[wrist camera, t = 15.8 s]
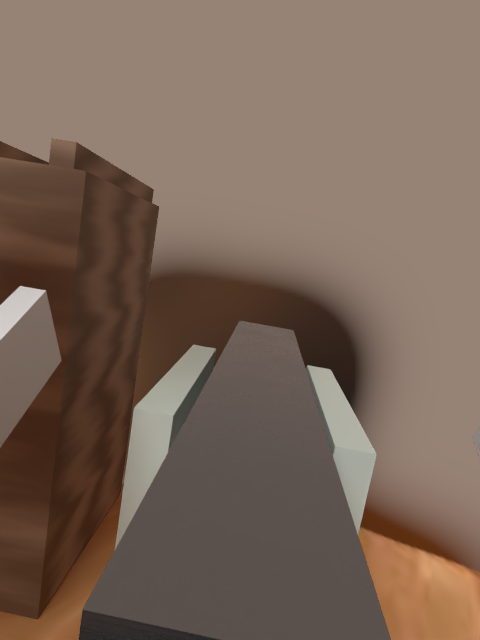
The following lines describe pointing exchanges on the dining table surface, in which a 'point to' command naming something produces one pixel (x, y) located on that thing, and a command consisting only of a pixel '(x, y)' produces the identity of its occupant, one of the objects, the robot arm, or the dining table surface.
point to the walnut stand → (70, 356)
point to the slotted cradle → (179, 398)
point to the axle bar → (242, 519)
